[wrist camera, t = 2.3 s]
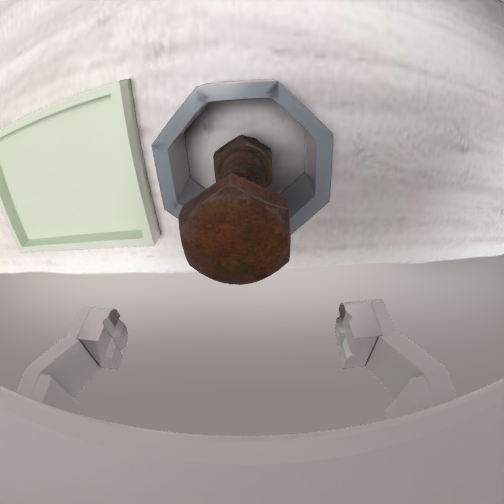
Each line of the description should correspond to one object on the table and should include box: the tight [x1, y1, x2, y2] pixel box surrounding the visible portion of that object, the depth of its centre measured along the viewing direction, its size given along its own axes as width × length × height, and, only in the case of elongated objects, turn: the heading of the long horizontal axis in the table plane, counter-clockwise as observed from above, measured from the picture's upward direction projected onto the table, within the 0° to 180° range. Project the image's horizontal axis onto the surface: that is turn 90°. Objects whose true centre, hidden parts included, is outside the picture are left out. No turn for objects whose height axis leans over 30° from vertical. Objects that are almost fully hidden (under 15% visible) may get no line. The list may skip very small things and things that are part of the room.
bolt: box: [178, 135, 290, 285], centre depth 19 cm, size 6×5×15 cm
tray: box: [0, 79, 160, 253], centre depth 25 cm, size 22×17×2 cm
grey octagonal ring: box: [151, 79, 333, 235], centre depth 23 cm, size 13×13×6 cm
